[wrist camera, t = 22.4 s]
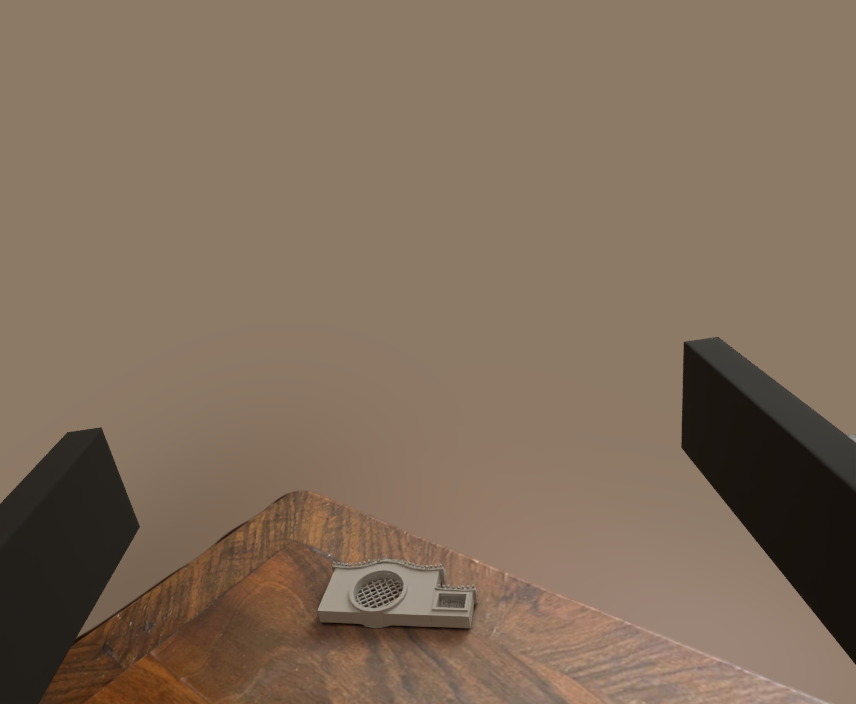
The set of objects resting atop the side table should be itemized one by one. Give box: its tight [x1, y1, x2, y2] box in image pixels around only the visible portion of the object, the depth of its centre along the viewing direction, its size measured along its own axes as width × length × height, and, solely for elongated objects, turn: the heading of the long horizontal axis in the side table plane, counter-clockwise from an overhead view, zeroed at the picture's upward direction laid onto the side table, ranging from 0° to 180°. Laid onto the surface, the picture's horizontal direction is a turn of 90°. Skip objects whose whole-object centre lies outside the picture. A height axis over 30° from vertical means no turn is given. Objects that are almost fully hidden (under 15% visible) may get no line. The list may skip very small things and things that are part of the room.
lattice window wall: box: [317, 558, 478, 628], centre depth 49 cm, size 12×2×6 cm
